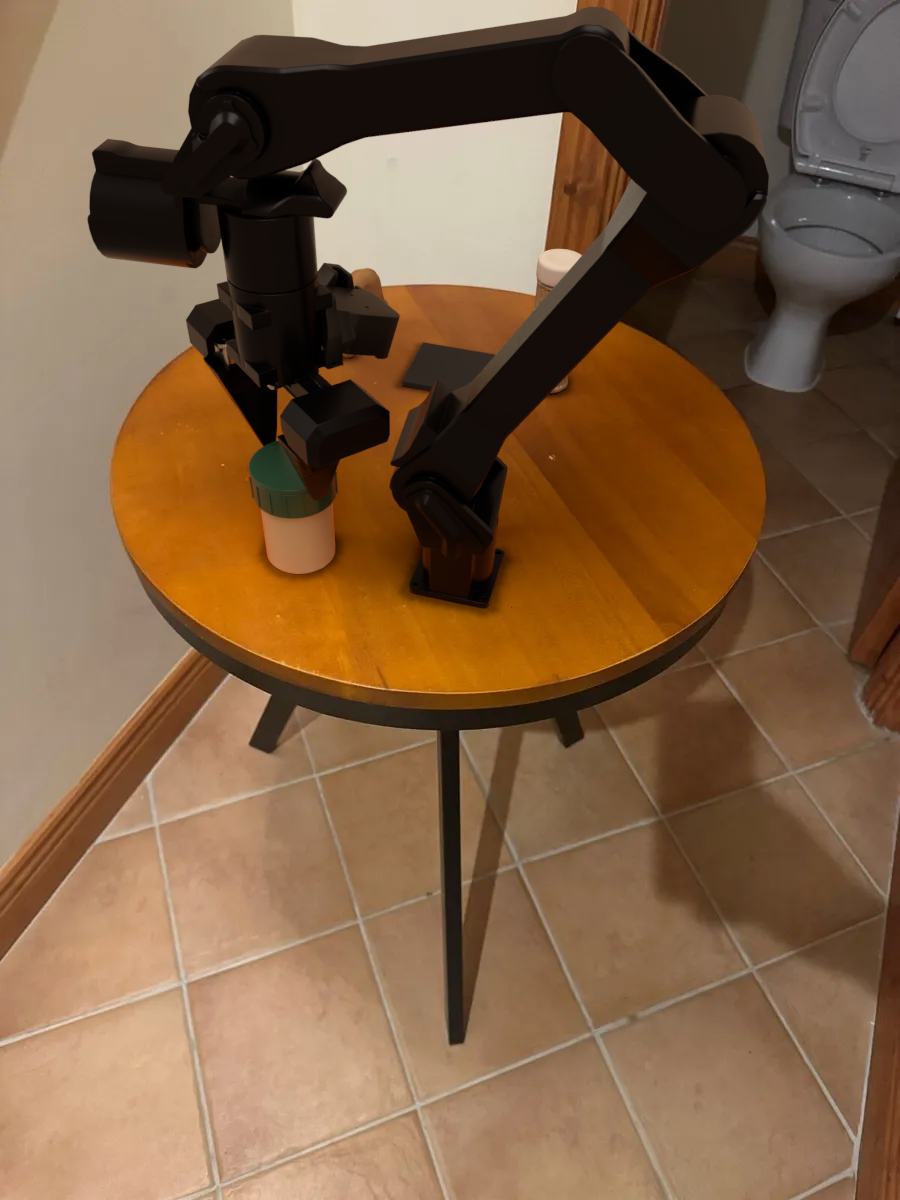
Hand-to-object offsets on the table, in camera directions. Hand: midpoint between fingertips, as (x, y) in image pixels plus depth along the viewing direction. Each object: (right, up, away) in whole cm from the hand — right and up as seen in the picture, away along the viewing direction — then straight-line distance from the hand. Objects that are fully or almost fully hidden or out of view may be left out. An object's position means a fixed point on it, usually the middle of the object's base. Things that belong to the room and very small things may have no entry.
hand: (293, 470), depth 68 cm
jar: (0, -6, +6) cm, 8 cm away
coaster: (+12, +14, +26) cm, 32 cm away
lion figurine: (+1, +18, +29) cm, 34 cm away
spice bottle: (+22, +12, +25) cm, 35 cm away
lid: (0, 0, 0) cm, 0 cm away
